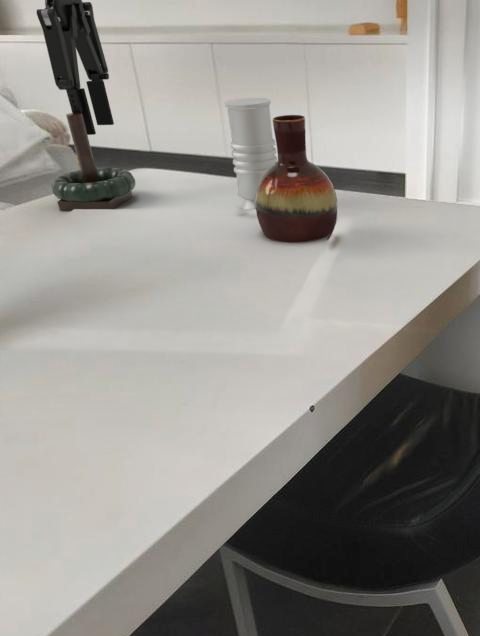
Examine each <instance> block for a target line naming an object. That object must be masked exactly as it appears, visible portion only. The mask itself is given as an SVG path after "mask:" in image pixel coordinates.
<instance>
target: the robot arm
mask: <svg viewBox="0 0 480 636" xmlns="http://www.w3.org/2000/svg"><path fill="white" fill-rule="evenodd" d="M44 4H45V7H44V8H39V9H36V16H37V19H38V21H39V24H40V26H41V29H42V33H43V38H44V40H45V45H46V49H47V54H48V57H49V62H50V67H51V70H52V75H53V79H54V83H55V86H56V87H57V88H58V90H60V91H65V92H66V95H67V98H68V102H69V106H70V109H71V113H82V115H83V119H84V123H85V127H86V131H87V135H88V136H95V135H96V134H97V132H96V128H95V125H94V121H93V116H92V113H91V110H90V105H89V101H88V97H87V94H86V90H85V87H84V88H81V79H80V71H79V64H78V63H79V62H78V57H79V59H80V61H81V64H82V66H83V69H84V72H85V74H86V76H87V79H88V80H87V81H86V87H87V90H88V94H89V98H90V102H91V106H92V110H93V114H94V118H95V121H96V125H97V126H113V125H114V124H115V123H114V118H113V114H112V110H111V106H110V101H109V96H108V93H107V89H106V85H105V80H109V78H110V74H109V68H108V64H107V61H106V56H105V53H104V50H103V47H102V42H101V39H100V35H99V31H98V28H97V25H96V21H95V14H94V9H93V4H92V3H91V1H83V0H44ZM77 54H78V55H77Z"/></svg>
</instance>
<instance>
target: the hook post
mask: <svg viewBox="0 0 480 636" xmlns="http://www.w3.org/2000/svg"><path fill="white" fill-rule="evenodd" d="M66 121H67V124H68V127H69V131H70V135H71V138H72V139H71V140H72V143H73V146H74V150H75V153H76V158H77V161H78V164H79V170H81V173H82V176H83V180H84V183H91V182H99V178H98V174H97V170H96V168H97V167H96V163H95V159H94V156H93V152H92V147H91V144H90V139H89V135H87V131H86V127H85V123H84V119H83V115H82V113H72V112H69V113H67V114H66ZM132 197H133V190H131V191H130V192H128V193H127V194H125V195H123V196H119V197H116V198H112V199H108V200H101V201H94V202H69V201H65V200H61V199H59V200H57V202H56V203H57V206H58V210H59V211H60V212H71V211H72V212H73V211H74V210H115V209H116V208H117V207H119V206H120V205H122V204H123V203H125V202H126V201H127V200H129V199H130V198H132Z"/></svg>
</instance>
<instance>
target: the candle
mask: <svg viewBox="0 0 480 636" xmlns="http://www.w3.org/2000/svg"><path fill="white" fill-rule="evenodd" d="M271 104H272V100H271V99H270V98H266V97H244V98H243V97H241V98H235V99H230V100H227V101H225V102H224V105H225V107H226V108H227V114H228V115H227V116H228V121H229V128H230V135H231V136H230V137H231V142H230V148H231V150H232V151H231V157H233V159H232V165H233V166H234V167H233V172H234V173H235V174H236V184H237V185H236V189H237V196H238V197H239V198H241V199H244V200H243V203H242V207H241V208H242V210H256V204H255V201H256V192H257V189H258V186H259V183H260V181H261V179H262V178H263V176H264V175H265V173H266V172H267V171H268V170H269V169H270V168H271V167H272V166H274V165H275V164H276V163H277V162H278V156H277V155H276V154H277V148H276V139H274V138H273V126H272V119H271V110H270V105H271Z"/></svg>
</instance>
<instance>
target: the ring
mask: <svg viewBox="0 0 480 636" xmlns="http://www.w3.org/2000/svg"><path fill="white" fill-rule="evenodd" d="M96 170H97V174H98V178H99V182H91V183H84V180H83V176H82V173H81V169H78V170H74V171H70V172H66V173H63V174H61V175H59V176H57V177H55V178H54V179H53V180H52V182H51V190H52V193H53V195H54V196H55V198H57V199H59V200H65V201H69V202H94V201H101V200H108V199H112V198H116V197H119V196H123V195H125V194H127V193H128V192H130V191H131V190H132V191H133V189H135V187H136V179H135V177H134V175H133V174H132V173H131V171H129V170H128V169H125V168H124V169H123V168H119V167H96Z"/></svg>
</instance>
